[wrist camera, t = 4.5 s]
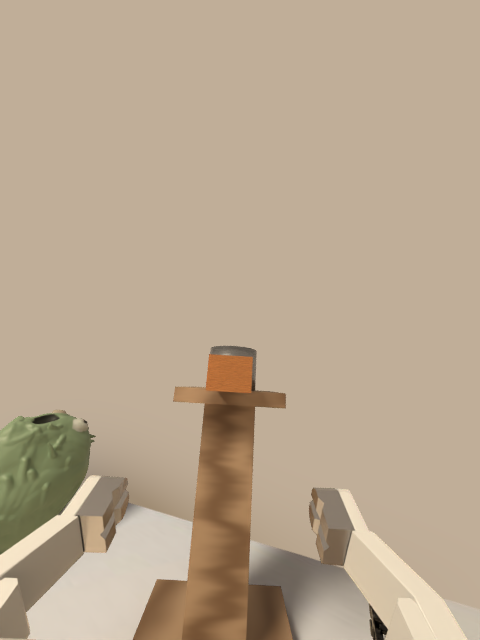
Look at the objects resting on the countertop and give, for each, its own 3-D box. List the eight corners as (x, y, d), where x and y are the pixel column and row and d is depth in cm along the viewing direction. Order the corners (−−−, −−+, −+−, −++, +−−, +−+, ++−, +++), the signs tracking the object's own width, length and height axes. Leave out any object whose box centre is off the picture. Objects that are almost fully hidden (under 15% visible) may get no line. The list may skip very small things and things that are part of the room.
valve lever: (253, 390, 31) (254, 354, 33) (268, 394, 17) (270, 329, 18) (209, 388, 31) (213, 352, 33) (188, 389, 17) (196, 324, 18)
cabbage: (-117, 569, 30) (-54, 410, 36) (46, 508, 47) (72, 405, 52) (-83, 629, 24) (-12, 422, 29) (94, 533, 40) (118, 412, 46)
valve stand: (280, 606, 29) (281, 392, 36) (311, 754, 17) (303, 394, 24) (154, 599, 29) (181, 385, 36) (100, 743, 17) (156, 385, 24)
